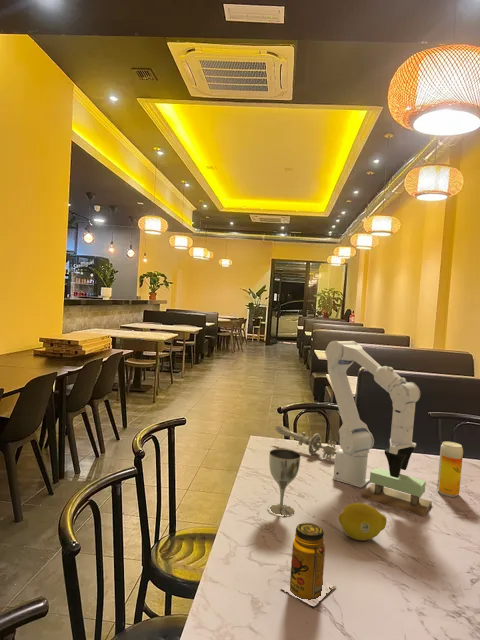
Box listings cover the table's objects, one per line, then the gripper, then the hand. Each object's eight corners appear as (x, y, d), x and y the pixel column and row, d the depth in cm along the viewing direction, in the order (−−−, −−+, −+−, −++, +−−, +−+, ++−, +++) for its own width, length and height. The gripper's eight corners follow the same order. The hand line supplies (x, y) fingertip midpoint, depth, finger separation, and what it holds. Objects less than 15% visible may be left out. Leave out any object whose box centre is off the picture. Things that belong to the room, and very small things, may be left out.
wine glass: (300, 508, 117) (304, 452, 117) (290, 520, 110) (295, 461, 110) (272, 500, 121) (275, 446, 120) (261, 512, 114) (265, 454, 113)
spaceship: (283, 419, 175) (274, 415, 169) (366, 452, 153) (358, 449, 147) (276, 439, 174) (266, 435, 168) (359, 475, 152) (351, 472, 146)
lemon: (335, 541, 102) (337, 507, 102) (338, 525, 110) (341, 493, 109) (384, 552, 99) (387, 517, 98) (384, 535, 106) (387, 502, 106)
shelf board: (369, 482, 128) (370, 472, 128) (375, 477, 132) (376, 467, 132) (420, 497, 120) (421, 486, 120) (424, 491, 124) (425, 480, 124)
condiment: (280, 590, 84) (284, 527, 83) (304, 571, 90) (308, 513, 89) (313, 609, 79) (318, 543, 78) (336, 587, 85) (341, 526, 85)
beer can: (461, 498, 130) (466, 448, 130) (439, 495, 131) (443, 446, 131) (455, 490, 136) (460, 442, 136) (434, 487, 137) (439, 439, 137)
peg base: (361, 496, 127) (362, 482, 127) (371, 487, 135) (373, 474, 134) (423, 516, 117) (425, 501, 117) (431, 505, 125) (432, 491, 125)
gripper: (410, 434, 117) (405, 484, 117) (423, 423, 129) (419, 469, 129) (383, 428, 121) (379, 476, 122) (398, 418, 133) (394, 463, 133)
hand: (398, 472), depth 126 cm, fingers open, 7 cm apart
